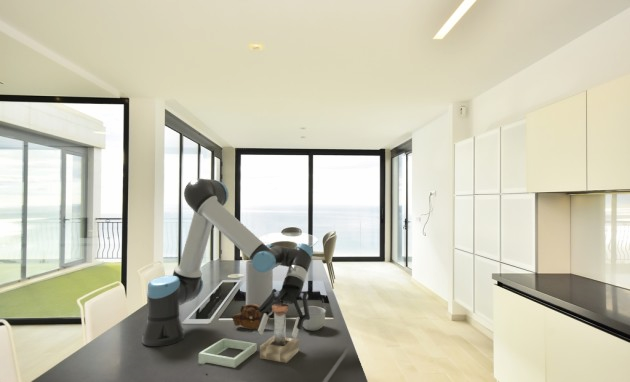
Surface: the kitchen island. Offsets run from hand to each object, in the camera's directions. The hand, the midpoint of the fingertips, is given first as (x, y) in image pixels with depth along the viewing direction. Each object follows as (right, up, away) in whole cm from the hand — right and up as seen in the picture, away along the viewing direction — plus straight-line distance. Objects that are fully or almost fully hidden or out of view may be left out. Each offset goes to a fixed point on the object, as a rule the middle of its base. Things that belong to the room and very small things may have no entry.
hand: (276, 335), depth 124 cm
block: (+1, -8, +2) cm, 9 cm away
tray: (-16, -9, +1) cm, 19 cm away
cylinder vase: (-13, -10, +49) cm, 52 cm away
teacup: (+11, -9, +29) cm, 33 cm away
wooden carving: (-14, -9, +30) cm, 35 cm away
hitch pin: (+1, -7, +2) cm, 8 cm away
